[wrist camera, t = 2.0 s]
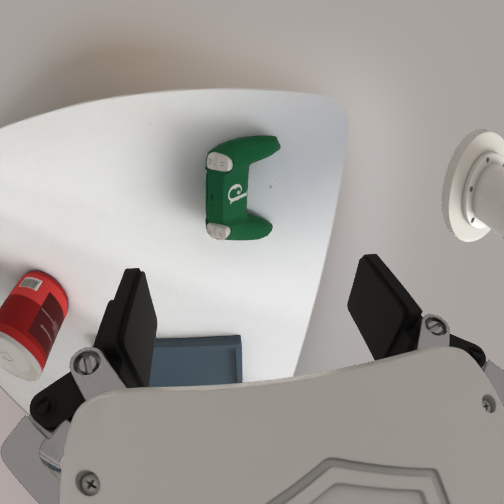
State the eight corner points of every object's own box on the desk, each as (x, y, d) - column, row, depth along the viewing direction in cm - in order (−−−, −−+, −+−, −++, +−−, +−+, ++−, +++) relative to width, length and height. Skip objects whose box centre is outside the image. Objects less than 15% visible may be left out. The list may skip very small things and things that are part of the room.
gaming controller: (248, 130, 23) (197, 136, 19) (285, 136, 21) (236, 142, 17) (243, 222, 28) (199, 244, 24) (274, 235, 26) (231, 261, 22)
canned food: (13, 284, 26) (-24, 344, 17) (39, 257, 25) (-7, 324, 15) (50, 323, 30) (24, 386, 20) (81, 303, 29) (51, 376, 19)
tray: (240, 335, 34) (241, 344, 33) (242, 396, 43) (243, 403, 42) (96, 337, 32) (93, 345, 31) (131, 397, 41) (130, 404, 39)
